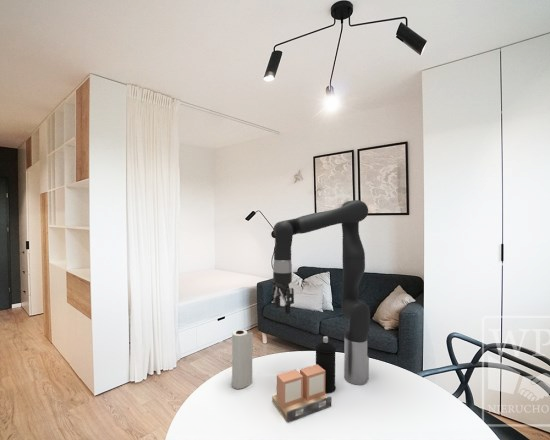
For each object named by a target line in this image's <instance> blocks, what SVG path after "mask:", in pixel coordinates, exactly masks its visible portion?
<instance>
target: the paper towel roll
mask: <svg viewBox="0 0 550 440" xmlns="http://www.w3.org/2000/svg"><path fill="white" fill-rule="evenodd" d="M253 333H254V332H253V331H251V332H248V331H247V330H245V329H236V330H234V331H232V334H231V335H232V336H231V337H232V347H231V348H232V354H231V358H232V359H231V365H232V367H231V369H232V370H231V386H232V388H234V389H236V390H240V389H244V388H246V387H248V386H249V385H252V384H253V343H254V341H253V339H254V338H253Z"/></svg>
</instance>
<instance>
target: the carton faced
mask: <svg viewBox="0 0 550 440" xmlns="http://www.w3.org/2000/svg"><path fill="white" fill-rule="evenodd" d="M299 373H300V374H301V375H302V376H303V397H304V398H305V399H306V401H309V400H312V399H315V398H318V397H321V396H323V395H326V393H325V370H324V369H323V368H321V367H320V366H319V365H318V364H317V365H316V364H313V365H310V366H306V367H302V368H300V369H299Z"/></svg>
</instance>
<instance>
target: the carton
mask: <svg viewBox="0 0 550 440" xmlns="http://www.w3.org/2000/svg"><path fill="white" fill-rule="evenodd" d="M276 395H277V401H278V402H279V404H280V405H281V406H282V407H283V408H285V407H288V406H291V405H294V404H297V403H300V402H303V376H302V375H301V374H300V371H299V370H297V369H293V370H289V371H285V372H282V373H278V374H276Z"/></svg>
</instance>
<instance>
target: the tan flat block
mask: <svg viewBox="0 0 550 440" xmlns="http://www.w3.org/2000/svg"><path fill="white" fill-rule="evenodd" d="M271 402H272V403H273V405H274V406H275V408H276V409H277V410H278V411H279V413H280V415H281V416H282V417H283V419H284V420H285V421H286V423H290V422H293V421H296V420H298V419H301V418H303V417H307V416H309V415H312V414H314V413H317V412H320V411H323V410H325V409H328V408H330V407H332V396H327V395H326V394H325V395H323V396H321V397H318V398H315V399H312V400H309V401H306V399H305V398H304V397H303V402H300V403H297V404H294V405H291V406H288V407H285V408H283V407H282V406H281V405H280V404H279V402H278V401H277V394H275V395H272V397H271Z"/></svg>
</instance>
